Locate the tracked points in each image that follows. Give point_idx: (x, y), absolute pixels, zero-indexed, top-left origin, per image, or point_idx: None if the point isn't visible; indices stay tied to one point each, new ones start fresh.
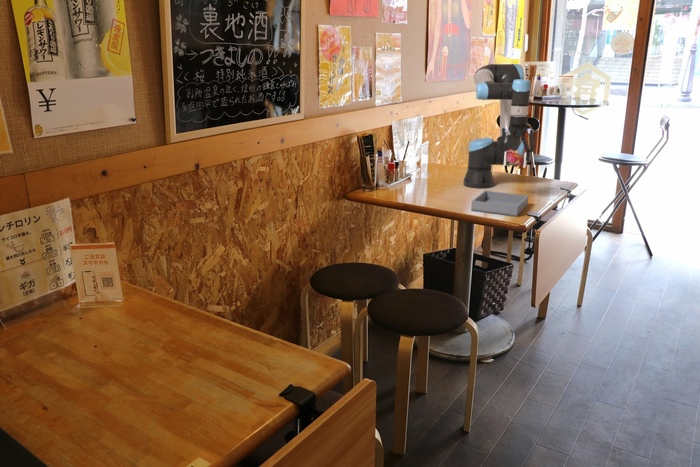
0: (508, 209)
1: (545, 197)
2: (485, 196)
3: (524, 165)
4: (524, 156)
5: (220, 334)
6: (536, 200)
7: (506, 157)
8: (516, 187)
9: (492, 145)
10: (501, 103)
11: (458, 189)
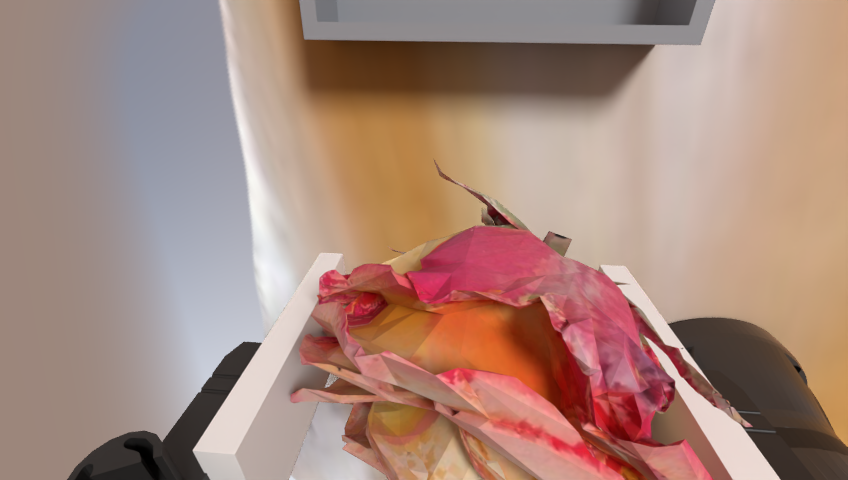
0: None
1: (306, 270)
2: (669, 11)
3: (319, 271)
4: (269, 383)
5: None
6: (325, 194)
7: (657, 336)
8: None
9: None
10: None
11: (838, 258)
